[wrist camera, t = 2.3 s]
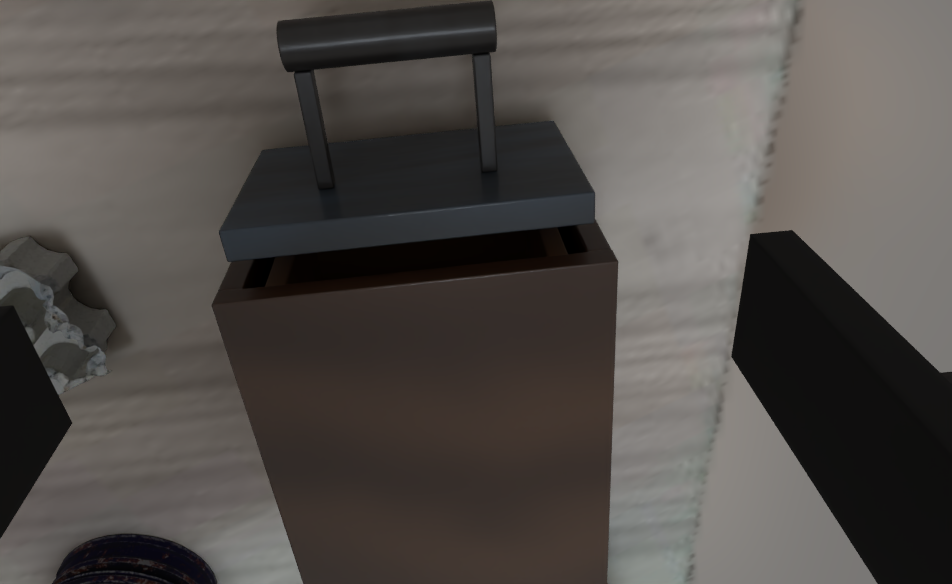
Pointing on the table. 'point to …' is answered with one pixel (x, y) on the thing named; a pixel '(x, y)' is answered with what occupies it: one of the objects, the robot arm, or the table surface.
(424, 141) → the drawer
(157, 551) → the storage jar
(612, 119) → the table surface
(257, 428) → the cabinet
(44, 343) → the grey irregular knobbly piece
